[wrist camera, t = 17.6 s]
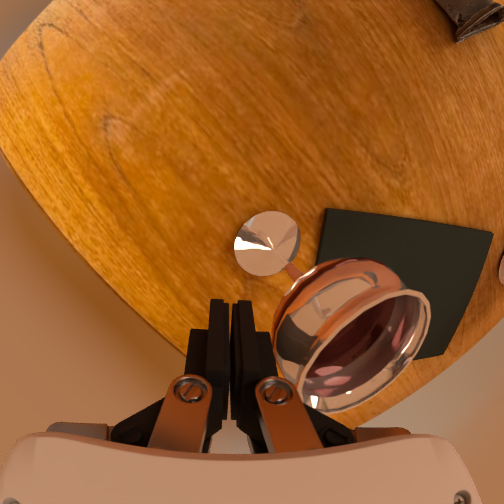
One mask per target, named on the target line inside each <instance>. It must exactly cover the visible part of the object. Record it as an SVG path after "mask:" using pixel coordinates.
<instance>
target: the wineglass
mask: <svg viewBox="0 0 504 504" xmlns="http://www.w3.org/2000/svg"><path fill="white" fill-rule="evenodd" d="M299 246H300V233H299V228H298V226H297V225H296V223H295V221H294V220H293V219H292V218H290V217H289V216H288V215H287V214H284V213H281V212H278V211H266V212H263V213H260V214H257V215H255V216H254V217H252V218H251V219H249V220H248V221H247V222H246V223H245V224H244V225H243V226H242V228H241V229H240V230H239V232H238V235H237V237H236V240H235V251H234V252H235V256H236V259H237V262H238V263H239V264H240V266H241V267H242V268H243V269H244V270H245V271H247V272H249V273H250V274H253V275H258V276H268V275H272V274H275V273H278V272H280V271H281V270H283V269H285V271H286V272H287V273H288V275H289V276H290V277H291V279H292V280H293V281H294V284H293V285H292V286H291V288H290V289H289V290H288V291H287V292H286V293H285V295H284V296H283V297H282V299H281V301H280V303H279V305H278V307H277V309H276V311H275V314H274V316H273V323H272V330H271V342H272V347H273V352H274V357H275V361H276V364H277V366H278V369H279V372H280V373H281V374H282V375H283V376H284V378H285V379H287V380H289V381H290V382H291V383H293V384H294V386H295V387H296V389H297V391H298V393H299V395H300V397H301V400H302V402H303V403H305V404H307V405H308V406H310V407H312V408H314V409H315V410H317V411H319V412H321V413H322V414H324V415H329V414H336V413H341V412H344V411H346V410H349V409H351V408H354V407H357V406H359V405H361V404H362V403H364V402H366V401H367V400H369V399H371V398H373V397H374V396H376V395H377V394H378V393H380V392H381V391H382V390H384V389H385V388H386V387H387V386H389V385H390V384H391V383H392V382H393V381H394V380H395V379H396V378H397V377H398V376H399V375H400V374H401V373H402V372H403V371H404V370H405V369H406V368H407V366H408V365H409V364H410V362H411V361H412V359H413V358H414V357H415V355H416V354H417V352H418V351H419V349H420V347H421V345H422V343H423V341H424V339H425V336H426V334H427V331H428V327H429V323H430V319H431V312H430V303H429V301H428V300H427V299H426V297H425V296H424V295H423V293H421V292H417V291H414V290H410V289H407V286H406V285H405V284H404V283H403V281H402V280H401V279H400V278H399V277H398V275H397V274H396V273H395V272H394V271H393V270H392V269H391V268H390V267H388V266H386V265H385V264H384V263H382V262H379V261H376V260H373V259H370V258H367V257H354V256H350V257H339V258H333V259H331V260H329V261H326V262H324V263H321V264H319V265H316V266H315V267H313V268H312V269H311V270H309V271H308V272H307V273H305V274H303V273H301V272H300V271H299V270H298V269H297V268H296V267H295V266H294V265H293V264H292V263H291V262H292V260H293V259H294V258H295V256H296V254H297V252H298V250H299Z"/></svg>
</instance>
